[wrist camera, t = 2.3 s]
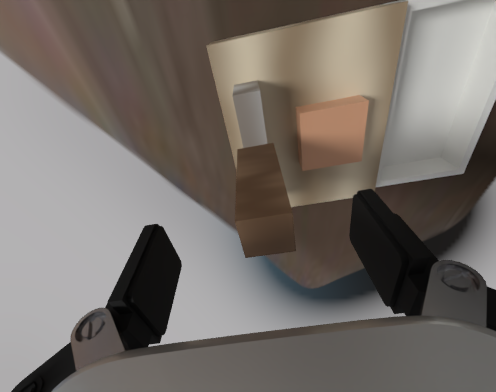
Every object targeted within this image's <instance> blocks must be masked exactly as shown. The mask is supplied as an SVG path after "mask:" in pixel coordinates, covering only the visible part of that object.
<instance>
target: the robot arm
mask: <svg viewBox="0 0 496 392" xmlns="http://www.w3.org/2000/svg"><path fill="white" fill-rule="evenodd" d="M349 236H350V241H351V243H352V245H353V247H354V248H355V250H356V252H357V254H358V256H359V258H360V260H361V261H362V263H363V265H364V267H365V269H366V271H367V273H368V274H369V276H370V278H371V280H372V282H373V284H374V285H375V287H376V289H377V291H378V293H379V295H380V297H381V298H382V300H383V302H384V304H385V305H386V306H390V307H391V309H392V311H393V313H394V314H398V313H405V315H406V316H402V317H388V318H379V319H368V320H358V321H350V322H341V323H333V324H324V325H316V326H308V327H300V328H291V329H283V330H275V331H266V332H258V333H250V334H242V335H234V336H226V337H218V338H211V339H203V340H195V341H187V342H179V343H172V344H165V345H159V346H152V347H148V345H149V344H156V343H160V341H161V337H162V335H164V334H165V332H166V329H167V324H168V320H169V316H170V312H171V308H172V304H173V300H174V296H175V292H176V287H177V283H178V279H179V275H180V271H181V267H182V265H181V260H180V258H179V256H178V254H177V253H176V251H175V249H174V247H173V245H172V243H171V241H170V239H169V238H168V236H167V234H166V232H165V230H164V228H163V227H162V226H159V225H158V224H153V225H147V226H145V227H144V228H143V230H142V233H141V234H140V237H139V239H138V241H137V243H136V245H135V247H134V249H133V251H132V253H131V255H130V257H129V259H128V261H127V263H126V265H125V267H124V269H123V271H122V273H121V275H120V278H119V280H118V282H117V284H116V286H115V288H114V290H113V292H112V294H111V296H110V298H109V300H108V303H107V305H106V307H105V308H98V309H95V310H92V311H91V312H89V313H87V314H86V315H85V316H84V317H82V318H81V319H80V320H79V322H78V323H77V324H76V326H75V327H74V329H73V331H72V334H71V342H70V343H69V344H67V345H66V346H65V347H64V348H62V349H61V350H60V351H59V352H57V353H56V354H55V355H54V356H52V357H51V358H50V359H49V360H47V361H46V362H45V363H44V364H42V365H41V366H40V367H39V368H37V369H36V370H35V371H34V372H32V373H31V374H30V375H28V376H27V377H26V378H25V379H24V380H22V381H21V382H20V383H19V384H18V385H17V386H16V387H15V388H14V389H13V390H12V391H11V392H496V290H495V289H492V288H489V287H487V286H486V281H485V280H484V279H483V277H482V276H481V275H480V274H479V273H478V272H477V271H476V270H474V269H472V268H471V267H469V266H467V265H465V264H462V263H460V262H456V261H452V260H442V261H438V260H437V258H436V257H435V256H434V255H433V254H432V253H431V251H430V250H429V249H428V248H427V247H426V246H425V245H424V243H423V242H422V241H421V240H420V239H419V238H418V237H417V235H416V234H415V233H414V232H413V231H412V230H411V229H410V228H409V226H408V225H407V224H406V223H405V222H404V221H403V220H402V219H401V217H400V216H398V215H397V214H393V212H392V211H391V210H390V209H389V208H388V207H387V205H386V204H385V203H384V202H383V201H382V200H381V199H380V197H379V196H378V195H377V194H376V193H375V192H374V190H372V189H365V190H359V191H358V192H357V194H354V196H353V204H352V214H351V224H350V235H349Z"/></svg>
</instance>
